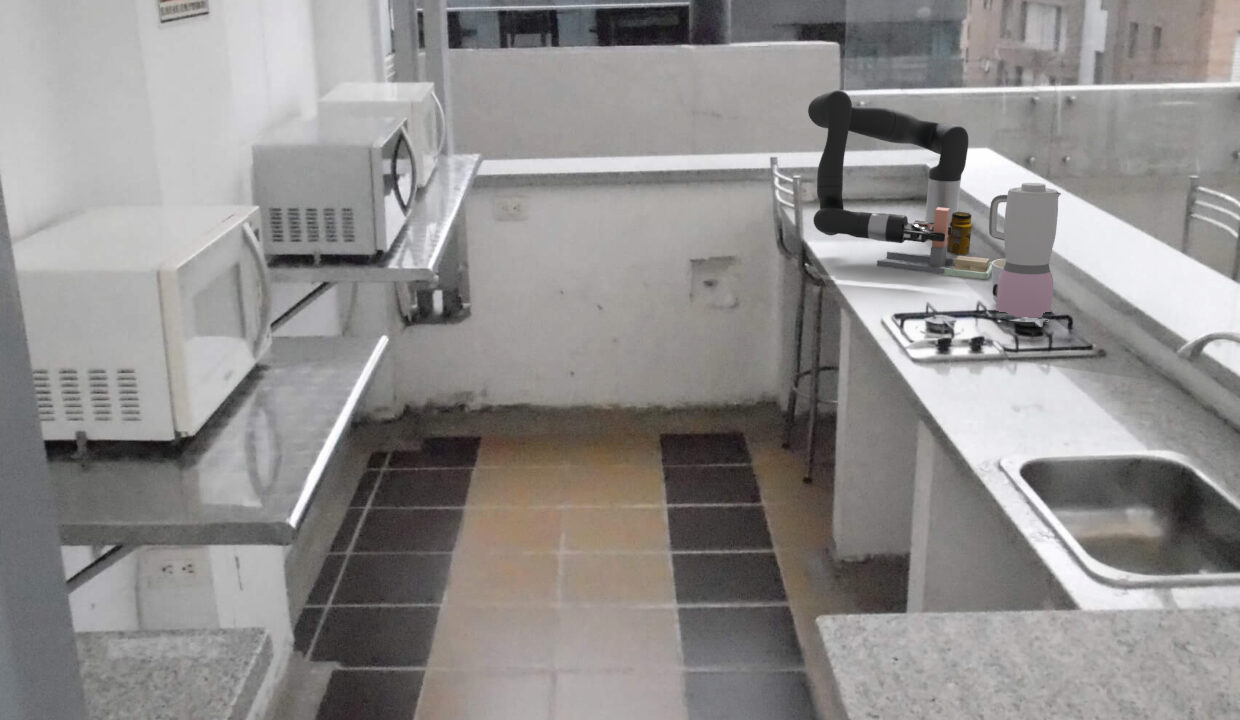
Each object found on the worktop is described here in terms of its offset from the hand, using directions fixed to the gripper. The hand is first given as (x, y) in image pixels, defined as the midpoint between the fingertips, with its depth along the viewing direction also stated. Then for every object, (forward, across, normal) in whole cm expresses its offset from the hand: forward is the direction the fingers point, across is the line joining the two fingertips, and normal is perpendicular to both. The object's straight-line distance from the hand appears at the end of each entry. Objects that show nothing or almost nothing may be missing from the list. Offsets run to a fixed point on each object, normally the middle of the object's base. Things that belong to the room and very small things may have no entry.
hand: (948, 234), depth 315 cm
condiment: (-1, +19, +11) cm, 22 cm away
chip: (+9, 0, +10) cm, 13 cm away
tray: (+7, 0, +10) cm, 12 cm away
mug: (+22, -23, +11) cm, 34 cm away
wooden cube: (+5, 0, +10) cm, 11 cm away
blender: (+24, -37, +10) cm, 45 cm away
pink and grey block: (-2, 0, +9) cm, 10 cm away
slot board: (-8, 0, +10) cm, 13 cm away
